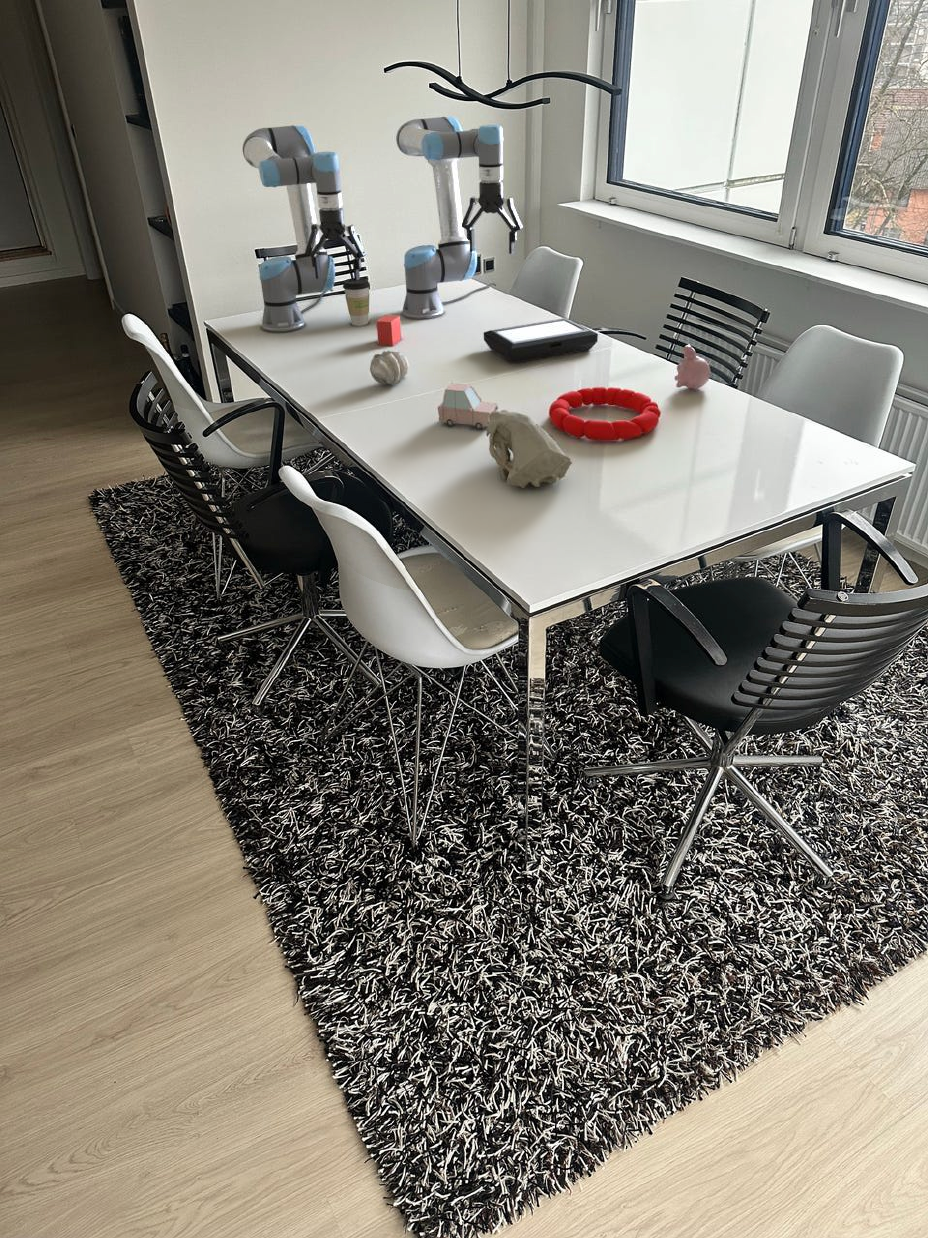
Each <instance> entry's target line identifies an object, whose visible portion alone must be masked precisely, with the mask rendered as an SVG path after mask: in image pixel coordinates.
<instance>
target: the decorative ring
mask: <svg viewBox="0 0 928 1238" xmlns="http://www.w3.org/2000/svg"><path fill="white" fill-rule="evenodd" d="M583 405H584V406H586V407H587V406H591V405H593V406H604V405H608V406H614V407H619V408H624V409H628V410H632V411H635V412H636V413H638V414H639V415H637V416H635V417H632V418H631V419H630V420H625V419H624V420H623V419H622V420H614V421H611V422H609V421H607V420H606V421H605V420H593V419H587V420H586V421H585V419H584V418H582V417H579V416H577V415H573V414H571V413H570V410H571V409H579V408H581V407H582V406H583ZM548 416H549V419H550V422H551V423H552V425H553V426H554V427H555V428H556V429H558V430H559V431H561V432H563V433H567V434H568V435H569V436H573V437H576V438H580V439H582V438H583V437H585V438H586V439H587V440H591V441H601V442H602V441H603V442H608V441H609V442H610V441H611V442H612V441H615V442H616V441H618V440H630V439H634V438H638V437H641V436H642V434H647V433H650V432H651V431H653V430H654V429H655V428H656V427H657V426H658V424H659V422H660V421H659V420H660V417H661V410H660V408H659V405H658V403H657V402H656V401H652V399H651V397H649V396H648V395H646V394H644V393H642V392H635V391H634V390H632V389H628V388H624V389H622V388H620V387H613V386H612V387H611V386H610V387H608V388H606V387H604V386H594V387H585V388H584V387H583V388H580V389H578V390H571V391H568V392H565V393H563V394H561V395H560V396H558V397H557V398H556V400H554V401H552V403H551V404H550V407H549V409H548Z"/></svg>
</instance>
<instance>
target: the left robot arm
mask: <svg viewBox="0 0 928 1238" xmlns="http://www.w3.org/2000/svg"><path fill="white" fill-rule="evenodd" d="M242 154H243V155H242V156H243V158H244V160H245V161H246V163H248V164H249V165H250V166H251V167H253V168H255V169H257V170H258V173H259V178H260V181H261V184H262V186H264V187H265V188H277V187H286V191H287V196H288V203H289V208H290V213H291V218H292V219H291V220H292V224H293V230H294V235H295V241H296V247H297V250H296V252H295V253H294V258H295V260H294V259H293V260H292V258H291V257H290V256H288V255H284V256H275V257H271V258H268V259H266V260H264V261H262V262H261V263H260V265H259V266H258V273H259V280H260V287H261V292H262V299H263V313H262V319H261V326H262V330H264V331H265V332H271V333H286V332H293V331H296V330H297V331H298V330H300V329H302V328H304V326H305V319H304V317H303V313H305V312H307V311H308V310H310V309H312V308H314V307H316V305H318V304H319V303H320V301H321V299H322V298H323V296H324V295H325V294H326V293H327V292H334V289H333V288H334V285H335V282H336V281H335V280H336V267H335V262H334V258H333V256H331V255H329V254H328V251H327V249H325V248H324V244H325V243H326V241H339V242H341V243H342V244H343V246H344V247H345V248H346V249H347V251H349V253H350V254H351V255H352V257H353V259H352V267H353V278H354V280H355V281H357V280H359V279H360V278H361V275H360V274H361V273H360V270H361V269H362V259H363V258H364V257H365V256H366V255H367V252H366V250H365V248H364V246H363V244H362V243H361V241H360V239H359V237H358V235H357V233H356V229H355V225H354V224H350V225H346V224H345V215H344V208H342V207H343V203H344V202H343V196H342V195H343V194H342V186H341V175H340V163H339V157H338V154H337V153H336V152H335V151H318V152H316V149H315V144H314V141H313V138H312V135H311V133H310V131H309V130H308V128H307V127H305V126H304V125H294V124H293V125H286V126H274V127H273V126H272V127H261V128H258V129H256V130H253V131H252V132H251V133H249V134H248V135H247V136H246V137H245V139H244V141H243V143H242ZM312 184H315V188H316V194H317V195H316V197H317V204H318V205H317V206H318V208H319V210H318V216H319V222H318V217H317V211H316V206H315V199H314V194H313V187H312ZM319 223H320V224H319ZM320 232H321V233H322V234H320ZM345 232H346V233H347V234H348V235H347V234H346V233H345ZM348 236H349V238H350V239H349V238H348ZM350 240H351V241H350ZM316 293H317V294H319V293H320V295H319V297H318V298H317V300H316V301H315V302H314V303H313V304H311V305H309V306H308V307H306V308H304V309H302V310H300V307H299V306H298V305H299V304H298V303H297V296H301V295H308V294H316Z"/></svg>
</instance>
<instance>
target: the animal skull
mask: <svg viewBox="0 0 928 1238" xmlns="http://www.w3.org/2000/svg"><path fill="white" fill-rule="evenodd" d="M485 436H486V438H487V437H489V438H488V440H489V444H488V445H489V446H488V450H489V454H490V456H491V457H492V458H493V459H494V460H495V462H496V464H497V466H499V468H500V470H501V471H502V472H501V478H502V479H507V480H506V484H507V486H517V487H518V486H519V488H523V489H524V488H526V486H527V485H529V483H531V485H533V486H534V487H536V488H540V485H541V484H542V482H544V483H549V484H550V485H553V484H555V483H556V482H557V480H561V479H563V478H565V476H566V474H567V472H568V471H569V469H570V467H571V466H572V464H573V462H572V461H571V458H570V457H568V456H567V455H565V453H564V451H562V449H561V448H560V446H559V444H557V443H556V439H555V438H554V436H553V435H551V434H550V433H548V432H547V431H546V430H545V429H544V428H542V427H541V426H539V425H538V424H537V423H536V424H535V422H534V421H533V419H532V418H531V417H530V416H529V415H527V414H524V413H519V412H515V411H509V410H507V409H502V410H500V411H499V410H497V411H496V412H492V413H491V414H490V422H488V423H487V427H486V435H485ZM511 453H512V454H511ZM511 455H512V457H513V458H512V460H511ZM507 474H508V475H507Z"/></svg>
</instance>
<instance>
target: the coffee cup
mask: <svg viewBox="0 0 928 1238" xmlns="http://www.w3.org/2000/svg"><path fill="white" fill-rule="evenodd" d="M370 287H371V283H370V282H369V279H367V278H365V277H360V279H359V280H357V281H355V280H354V277H351V278H347V279H345V280H344V281H343V285H342V288H343V290H344V297H345V301H346V305H347V310H348V314H349V318H350V323H351V325H353V326H357V327H359V326H365V325H368V324H369V317H370V316H369V313H370Z"/></svg>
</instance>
